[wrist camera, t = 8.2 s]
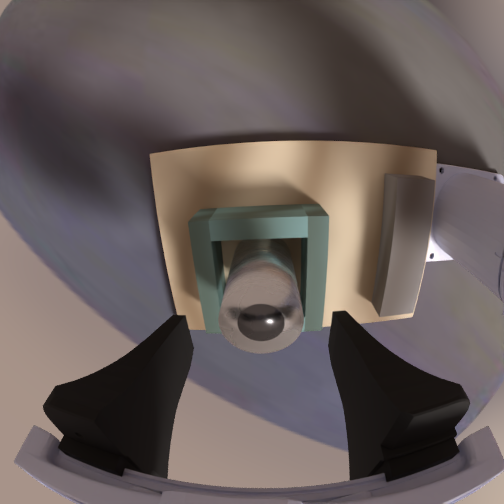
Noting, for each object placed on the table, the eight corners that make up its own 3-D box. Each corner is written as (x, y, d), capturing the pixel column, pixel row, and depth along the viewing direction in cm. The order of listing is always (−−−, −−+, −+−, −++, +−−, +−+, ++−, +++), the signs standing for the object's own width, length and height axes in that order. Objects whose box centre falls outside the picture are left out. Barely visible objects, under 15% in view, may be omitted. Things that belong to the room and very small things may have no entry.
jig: (428, 149, 16) (461, 154, 12) (407, 309, 21) (426, 337, 18) (156, 153, 17) (129, 157, 14) (184, 320, 23) (171, 353, 19)
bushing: (291, 232, 18) (306, 285, 12) (290, 284, 20) (301, 353, 13) (231, 233, 18) (213, 286, 12) (235, 285, 20) (222, 353, 13)
